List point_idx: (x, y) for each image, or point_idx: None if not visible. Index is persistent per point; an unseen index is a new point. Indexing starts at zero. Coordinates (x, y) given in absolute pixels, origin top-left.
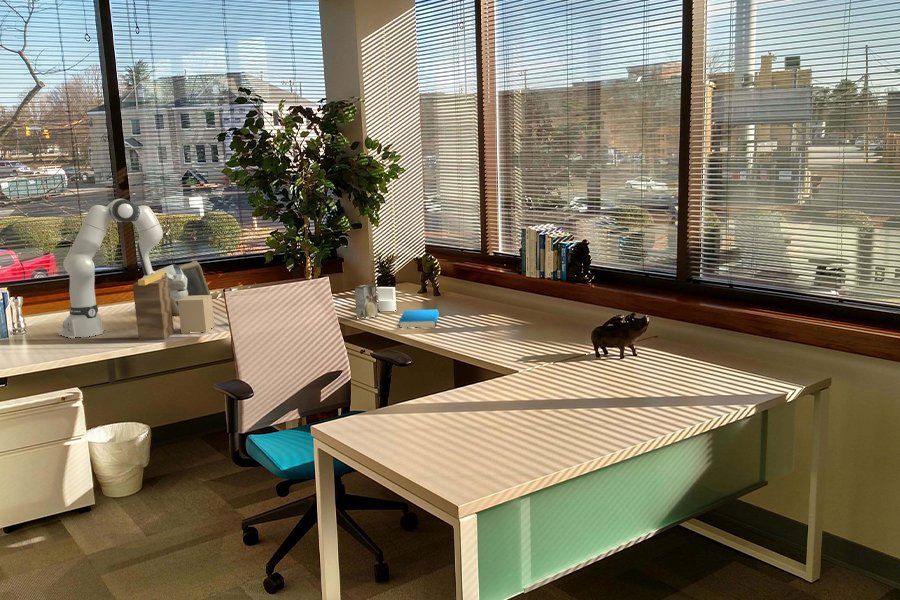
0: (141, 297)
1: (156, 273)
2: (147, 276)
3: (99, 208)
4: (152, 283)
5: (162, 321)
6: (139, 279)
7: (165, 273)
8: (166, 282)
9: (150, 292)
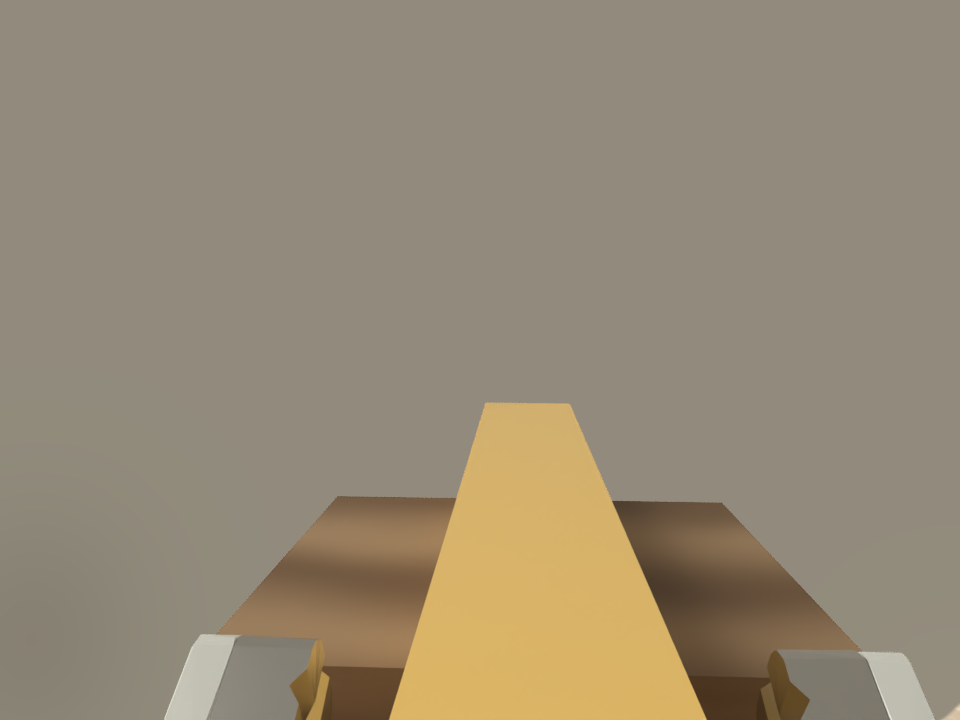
0: None
1: (573, 582)
2: (581, 458)
3: None
4: (428, 501)
5: None
6: (569, 409)
7: (278, 641)
8: None
9: None
